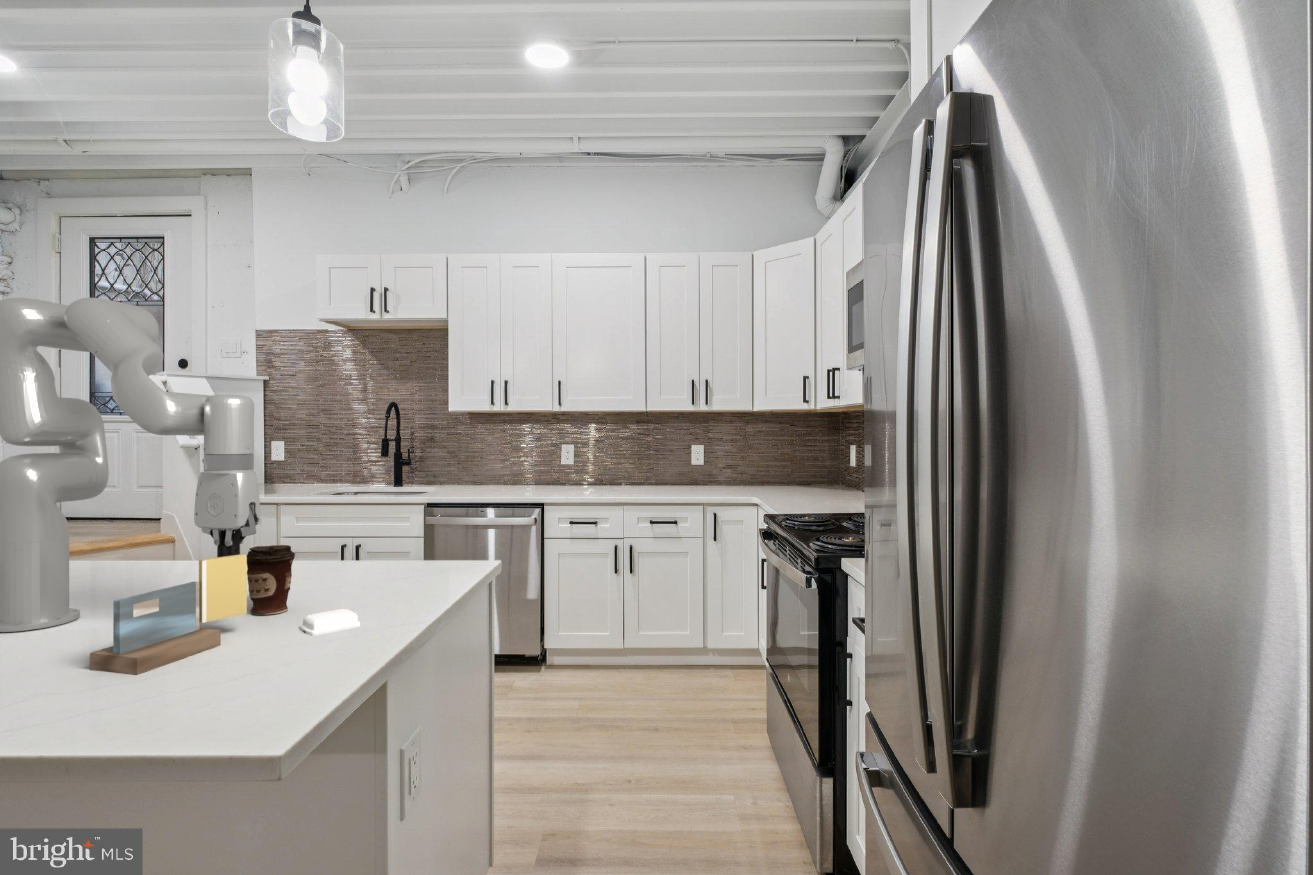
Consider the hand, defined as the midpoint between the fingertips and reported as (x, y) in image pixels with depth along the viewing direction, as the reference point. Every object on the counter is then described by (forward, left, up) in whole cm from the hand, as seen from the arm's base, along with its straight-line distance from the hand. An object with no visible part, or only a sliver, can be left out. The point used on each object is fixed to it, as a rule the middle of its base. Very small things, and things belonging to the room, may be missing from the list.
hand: (228, 566), depth 117 cm
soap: (+15, +7, -12) cm, 21 cm away
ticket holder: (0, -13, -12) cm, 18 cm away
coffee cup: (-4, +13, -12) cm, 18 cm away
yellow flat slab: (+2, -3, -8) cm, 9 cm away
